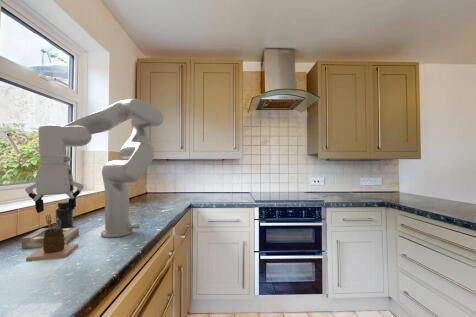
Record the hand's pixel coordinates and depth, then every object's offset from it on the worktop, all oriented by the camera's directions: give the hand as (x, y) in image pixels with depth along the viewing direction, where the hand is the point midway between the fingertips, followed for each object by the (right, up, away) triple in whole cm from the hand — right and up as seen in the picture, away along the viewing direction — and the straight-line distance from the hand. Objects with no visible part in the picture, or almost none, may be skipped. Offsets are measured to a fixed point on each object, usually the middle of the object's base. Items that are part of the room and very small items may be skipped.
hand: (56, 210), depth 90 cm
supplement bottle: (-20, -15, +34) cm, 42 cm away
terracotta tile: (0, -14, -1) cm, 14 cm away
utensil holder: (0, -14, -1) cm, 14 cm away
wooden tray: (-11, -15, +13) cm, 22 cm away
